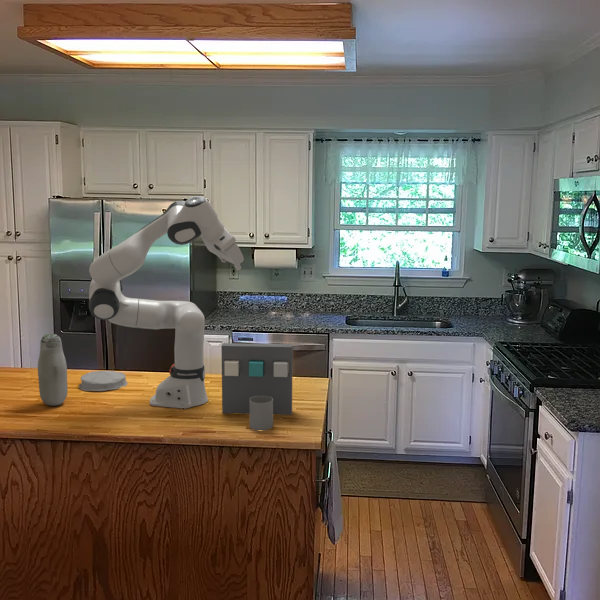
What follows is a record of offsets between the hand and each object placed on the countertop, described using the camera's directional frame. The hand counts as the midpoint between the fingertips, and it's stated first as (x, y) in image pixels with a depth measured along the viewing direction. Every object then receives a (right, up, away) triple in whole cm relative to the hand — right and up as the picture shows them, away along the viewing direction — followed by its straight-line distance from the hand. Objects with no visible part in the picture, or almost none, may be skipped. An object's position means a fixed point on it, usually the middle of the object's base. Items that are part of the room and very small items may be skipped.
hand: (231, 265), depth 232 cm
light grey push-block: (+18, -40, +4) cm, 44 cm away
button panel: (+9, -55, +9) cm, 56 cm away
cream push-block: (0, -40, +4) cm, 40 cm away
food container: (-59, -49, +40) cm, 87 cm away
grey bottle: (-70, -53, +15) cm, 89 cm away
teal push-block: (+9, -40, +4) cm, 41 cm away
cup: (+11, -58, -5) cm, 59 cm away
